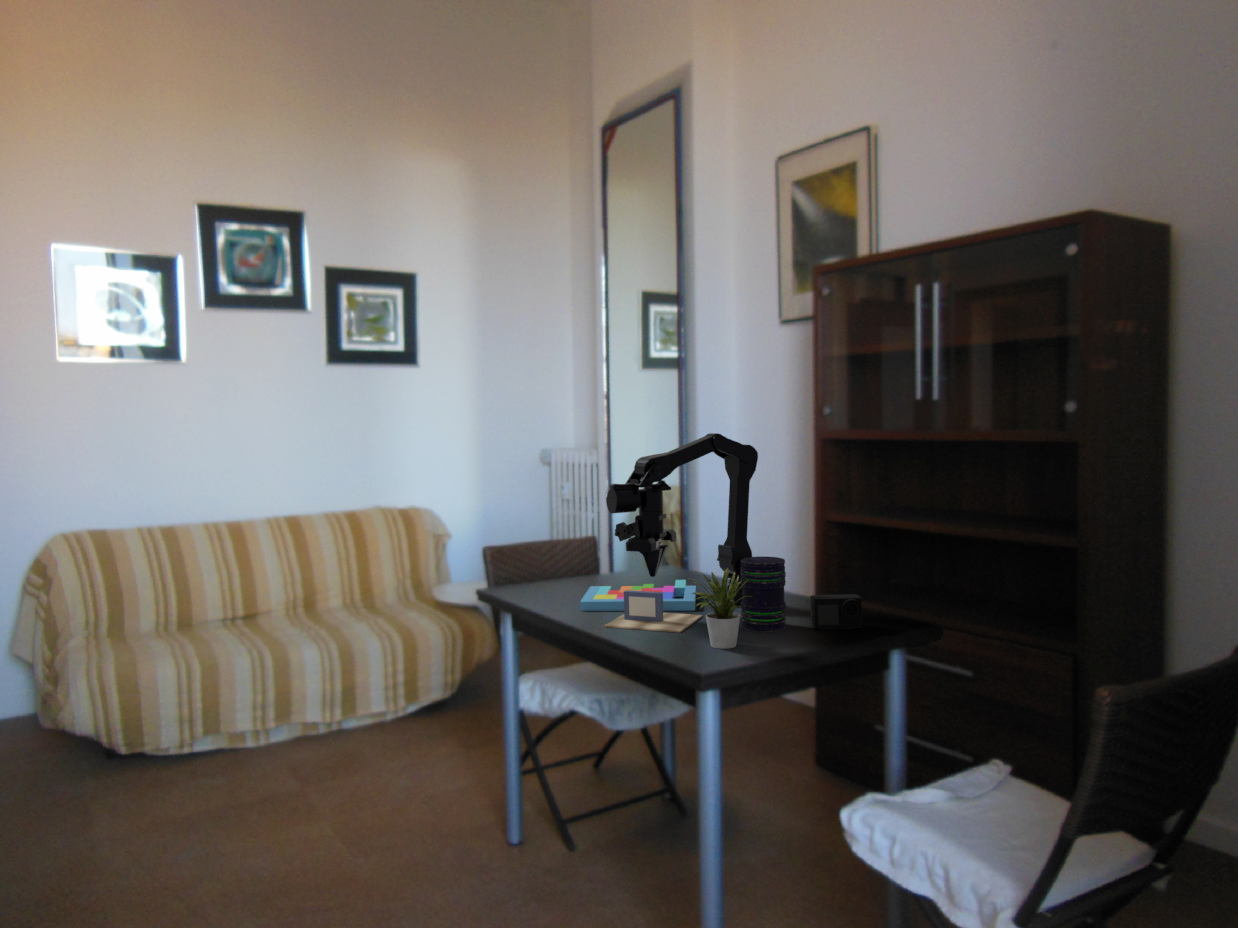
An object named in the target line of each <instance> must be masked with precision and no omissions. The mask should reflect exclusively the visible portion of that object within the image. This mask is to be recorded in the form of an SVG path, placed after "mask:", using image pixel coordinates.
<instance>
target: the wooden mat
mask: <svg viewBox="0 0 1238 928" xmlns="http://www.w3.org/2000/svg"><path fill="white" fill-rule="evenodd" d="M702 617H703V614H689V613H675V612H663V621H662V622H655V621H641V620H626V619H624V613H623V614H622V615H620V616H618V617H617V618H615V619H612V620H611V621H609V622H607V623H606V624H604V625H603V627H604V628H613V629H623V630H624V629H625V630H637V631H640V630H641V631H652V632H653V631H654V632H663V633H664V632H666V633H682V632H683V631H684V630H686V629H688V628H689V627H690V626H691V625H694V623H696V622H697V621H698V620H700V618H702Z"/></svg>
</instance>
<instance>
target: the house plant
mask: <svg viewBox="0 0 1238 928" xmlns="http://www.w3.org/2000/svg"><path fill="white" fill-rule="evenodd" d="M731 570H732V569H731ZM731 570H729V571H731ZM729 571H728V568H727V569H726V570H725V572H724V571H723V576H722V578H721V579H722V580H721V584H720V582H719V580H718V578H717V576H716V575H715V574H714V573H713V572H712V571H711V577H712V580H711V579H710V578H708V577H707V576H706V575H705V574H704V573H702V572H700V571H696V570H694V572H696V573H699V574H700V575H702V577H703V578H705V579H704V580H706V582H707V584H708V585H709V586H708V588H707V587H706V584H705V583H703V582H702V581H700V583H699V580H698V579H695V578H692V580H695V581H697V582H695V581H694V582H691V583H696V584H699V585H700V586H701V587H703V589H704V590H705V591H706V592H707V593H706V592H700V591H697V590H696V593H692V594H695V595H696V596H697V595H698V596H699V597H696V598H692V599H696V600H700V599H701V602H697V604H695V608H696V607H697V606H700V607H699V610H701V609H702V608H703V607H705V606H708V608H709V609H711V611H712V612H709V613H707V614H705V621H706V625H707V631H708V636H709V638H708V639H709V643H710V646H711V647H712V648H715V649H720V650H724V649H725V650H727V649H732V648H735V647H737V643H738V642H737V641H738V635H739V627H740V620H741V614H740V613H737V612H734V611H735V610H736V609H737V608H740V610H742V609H741V606H734V605H735V603H736V602H737V601H738V600H740V599H742V598H744V597H752V596H744V597H742V598H740V599H738V600H737V601H736V602H735V601H733V599H734V597H735V595H736V594H737V592H738V591H739V589H740V588H741V587H742V586H743V585H744V584H745V582H744V583H743V584H742V586H741V587H740V588H739V589H738V590H737V587H738V586H739V584H740V583H741V582H742V581H741V582H738V579H739V575H738V577H737V579H736V581H735V583H734V579H735V572H734V574H733V577H732V580H731V584H730V587H729V590H728V594H727V586H728V579H729V578H728V574H729ZM686 579H688V580H689V577H688V578H686ZM686 579H685V580H686ZM747 581H748V580H747ZM747 581H746V582H747ZM733 583H734V586H733ZM732 586H733V587H732ZM736 590H737V591H736ZM709 591H710V592H711V593H712V594H711V593H710V592H709ZM702 599H704V600H705V601H704V600H702ZM732 601H733V602H732ZM731 603H732V604H731Z"/></svg>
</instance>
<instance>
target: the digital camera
mask: <svg viewBox="0 0 1238 928" xmlns="http://www.w3.org/2000/svg"><path fill="white" fill-rule="evenodd" d="M809 597H810V602H809V603H810V626H811V625H812V626H813V627H814V628H815V629H842V628H860V627H861V628H862V629H863V597H862V596H859V595H858V594H855V593H852V594H851V593H850V594H849V593H848V594H817V595H816V594H815V595H814V594H813V595H810V596H809ZM812 626H811V627H812ZM813 627H812V628H813ZM814 628H813V629H814ZM815 629H814V630H815Z"/></svg>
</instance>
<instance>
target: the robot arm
mask: <svg viewBox="0 0 1238 928" xmlns="http://www.w3.org/2000/svg"><path fill="white" fill-rule="evenodd" d="M711 453H713V454H714V455H716V456H717V457H719V458H721V459H723V460H724V468H725V469H724V470H725V472H726V474H727V476H728V479H729V491H728V495H729V496H728V509H727V510H728V511H727V512H728V515H727V532H726V536H727V537H726V539H725V540H724V543H723V544H718V546H717V553H718V555H717V559H716V561H718V564H719V565H718V566H719V568H720V569H721V570H722V571H723V573H724V572H725V570H726V569H727V568H728V571H729V570H731V569H732V570H731V571H729V574H728V579H729V580H728V581H729V582H728V583H729V584H727V594H728V590H729V587H730V584H731V580H732V577H733V574H734V572H735V579H734V583H735V581H736V579H737V577H738V575H739V579H738V582H741V566H742V564H741V559H743V558H747V557H753V553H752V552H753V551H752V548H751V547H750V544H749V541H748V528H749V527H748V524H749V523H748V520H749V507H750V506H749V503H750V502H749V500H750V483H751V480H752V478H753V476H754V474H755V472H756V470H757V466H758V459H759V453H758V450H756V448H755V447H754V446H753V445H751V444H743V443H740V442H739V441H735V440H733V439H730V438H728V437H727V436H724V435H722V433H714V432H713V433H711V432H710V433H707V434H706V435H704V436H702V437H699V438H698V439H695V440H693V441H691V442H688V443H685V444H683V445H681V446H679V447H676V448H674V449H672V450H671V449H670V450H669V451H667V452H662V453H656V454H651V455H645V456H642V457H639V458H638V459H636V461H635V464H634V467H633V468H634V469H633V471H632V473H631V474H630V475H629V477H628V479H627V480H626V482H625V483H610V485H609V490H608V492H607V493H606V494H607V496H606V498H605V501H606V508H607V511H608V512H609V513H610V514H622V513H634V512H636V511H637V509H638V515H636V516H635V517H634V522H631V523H629V524H627V523H626V522H625V521H622V522H620V523H617V524H615V529H614V536H615V537H617V539H618V540H619V542H623V541H625V540H627V541H626V542H625V551H626V552H638V553H640V554H641V555H642V556H643V558H644V559H643V560H644V562H645V565H646V567H647V571H648V574H649V576H650V578H651V577H652V578H655V577H656V575H657V574H658V570H659V568H660V566H661V563H662V561H663V559H664V557H665V554H666V551H667V550H668V548H669V545H667V544H664V543H663V542H662V541H670V543H673V542H676V541H677V532H676V531H675V530H674V529H673V528H664V526H665V524H664V520H665V519H667V513H664V491H672V486H670V485H668V483H666V481H665V480H664V479H665V478H667V477H668V476H670V475H671V474H672V473H673V471H675V470H676V469H677V468H679V467H681V466H683V465H686V464H688V463H690V462H693V461H694V460H697V459H700V458H702V457H704V456H706V455H708V454H711ZM734 583H733V586H734ZM733 586H732V587H733ZM741 586H742V585H741V583H740V584H739V586H738V587H737V590H738V589H739V588H740V587H741ZM737 590H736V591H737ZM740 598H742V587H741V588H740V589H739V591H738V592H737V594H736V595H735V597H734V599H733V601H735V602H736V601H737V600H738V599H740ZM733 601H732V602H733ZM742 601H743V599H740V600H738V601H737V602H736V603H735V605H734V606H741V602H742ZM731 604H732V603H731Z"/></svg>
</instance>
